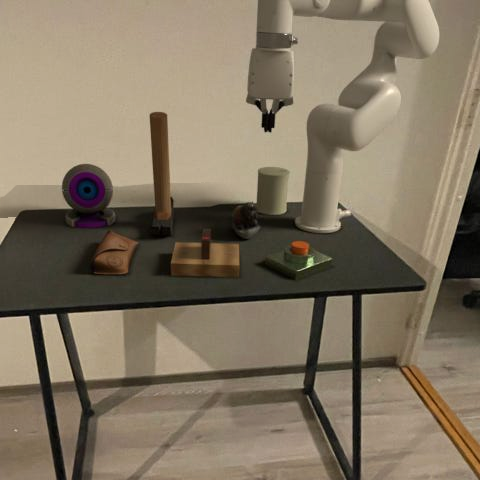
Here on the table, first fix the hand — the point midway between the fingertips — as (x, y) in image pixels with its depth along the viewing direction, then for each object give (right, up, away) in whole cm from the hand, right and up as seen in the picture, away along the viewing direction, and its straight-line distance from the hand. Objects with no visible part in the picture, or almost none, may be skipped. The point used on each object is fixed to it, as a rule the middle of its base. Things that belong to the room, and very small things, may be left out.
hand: (267, 131), depth 124 cm
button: (+7, -28, -1) cm, 29 cm away
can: (+3, -11, +35) cm, 37 cm away
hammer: (-27, -19, +20) cm, 38 cm away
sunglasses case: (-35, -30, +1) cm, 46 cm away
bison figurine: (-5, -22, +17) cm, 28 cm away
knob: (-14, -29, -2) cm, 32 cm away
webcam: (-47, -17, +22) cm, 54 cm away
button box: (+7, -31, +1) cm, 32 cm away
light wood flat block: (-14, -31, -1) cm, 34 cm away
